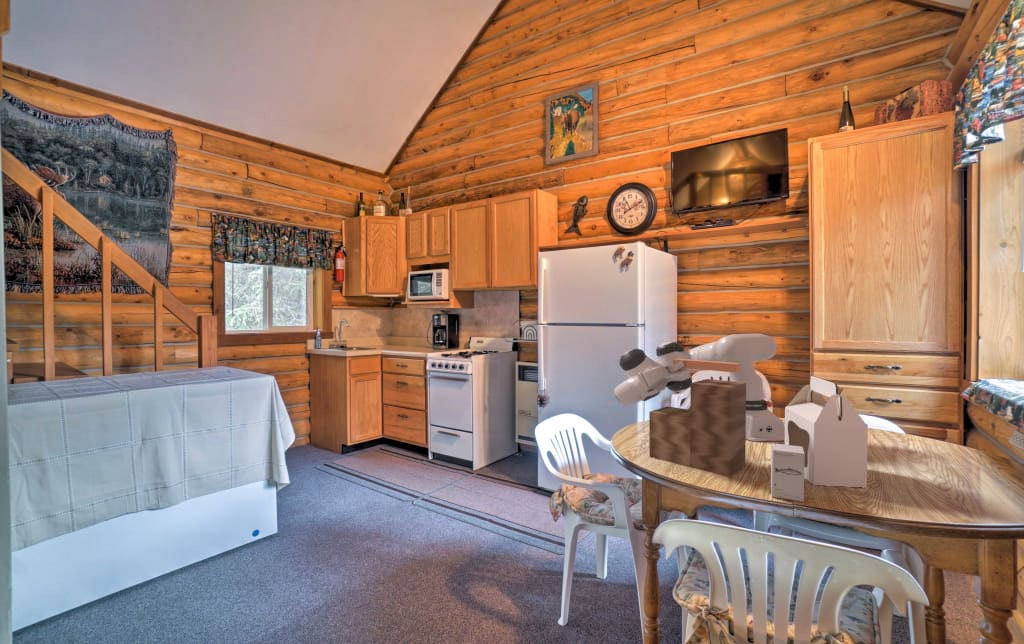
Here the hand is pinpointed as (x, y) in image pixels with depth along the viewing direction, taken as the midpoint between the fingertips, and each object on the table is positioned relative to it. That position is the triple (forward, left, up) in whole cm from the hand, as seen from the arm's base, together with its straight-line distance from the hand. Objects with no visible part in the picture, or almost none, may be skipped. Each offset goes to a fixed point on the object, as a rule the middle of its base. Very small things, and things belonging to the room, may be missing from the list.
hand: (687, 362), depth 153 cm
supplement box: (-18, +28, -32) cm, 46 cm away
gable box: (-36, +10, -32) cm, 49 cm away
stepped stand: (-3, +2, -32) cm, 32 cm away
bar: (-4, +4, -2) cm, 6 cm away
